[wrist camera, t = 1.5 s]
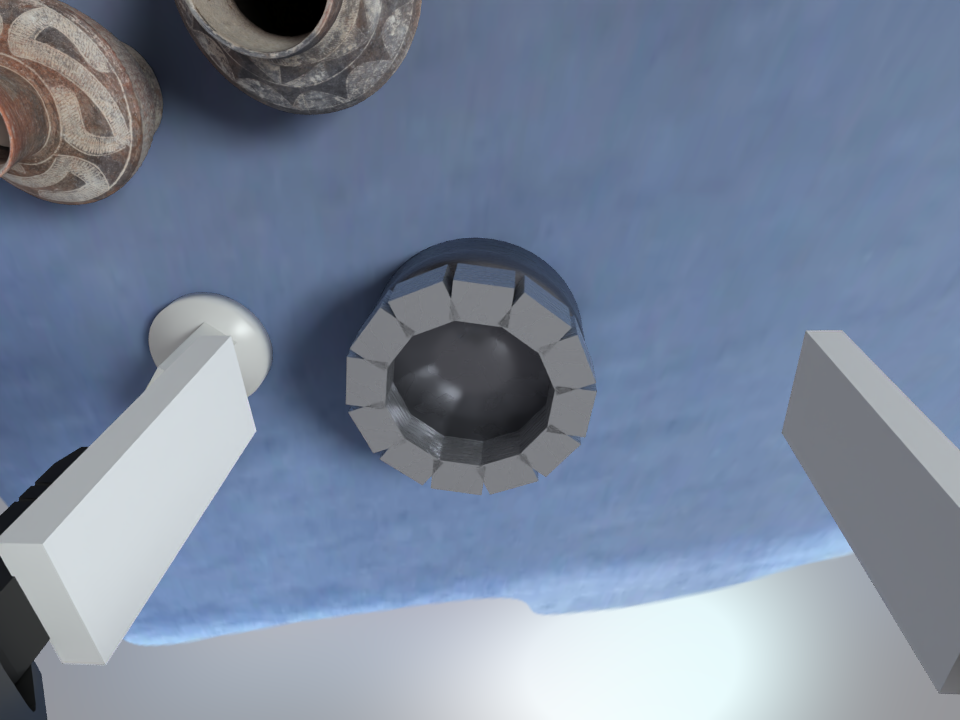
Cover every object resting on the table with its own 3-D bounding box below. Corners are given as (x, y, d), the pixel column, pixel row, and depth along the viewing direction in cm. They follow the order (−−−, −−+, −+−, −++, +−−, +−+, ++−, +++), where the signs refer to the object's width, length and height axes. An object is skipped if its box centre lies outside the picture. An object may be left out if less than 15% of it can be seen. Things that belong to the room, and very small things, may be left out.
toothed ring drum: (336, 351, 44) (302, 412, 37) (454, 191, 38) (438, 229, 31) (496, 455, 47) (491, 527, 41) (627, 323, 41) (646, 383, 35)
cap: (142, 351, 45) (77, 410, 38) (187, 268, 41) (123, 317, 35) (242, 411, 47) (196, 476, 40) (293, 336, 43) (251, 394, 37)
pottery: (-18, 27, 35) (-248, 35, 25) (379, -203, 29) (297, -321, 19) (110, 213, 40) (-37, 285, 29) (472, 49, 34) (448, 66, 24)
